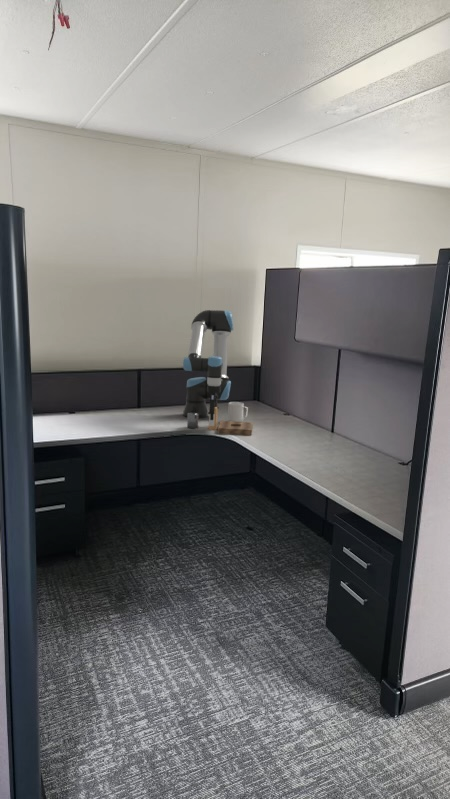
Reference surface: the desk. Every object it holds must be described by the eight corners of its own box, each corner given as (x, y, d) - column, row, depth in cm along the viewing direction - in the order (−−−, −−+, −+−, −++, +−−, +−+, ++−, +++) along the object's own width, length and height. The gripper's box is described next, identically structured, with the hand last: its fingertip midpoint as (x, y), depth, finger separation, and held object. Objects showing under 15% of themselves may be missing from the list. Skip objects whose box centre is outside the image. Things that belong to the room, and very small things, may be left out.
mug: (225, 422, 318) (225, 403, 316) (232, 419, 325) (233, 401, 323) (243, 424, 312) (244, 406, 310) (250, 422, 319) (251, 403, 317)
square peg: (208, 429, 298) (209, 408, 296) (209, 427, 302) (210, 406, 300) (216, 429, 298) (216, 408, 296) (216, 428, 302) (217, 407, 300)
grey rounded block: (185, 427, 301) (185, 413, 300) (193, 426, 305) (193, 412, 304) (191, 429, 297) (191, 415, 295) (200, 428, 301) (200, 414, 299)
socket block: (217, 433, 289) (217, 428, 289) (220, 426, 307) (220, 420, 307) (251, 435, 288) (251, 429, 288) (252, 427, 306) (252, 422, 305)
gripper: (218, 388, 283) (217, 428, 287) (223, 382, 308) (221, 418, 311) (204, 388, 284) (203, 427, 287) (209, 381, 308) (208, 417, 312)
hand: (213, 423), depth 299 cm, fingers open, 13 cm apart
